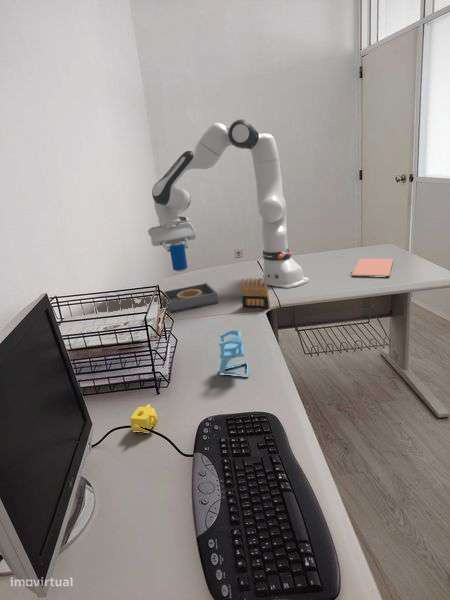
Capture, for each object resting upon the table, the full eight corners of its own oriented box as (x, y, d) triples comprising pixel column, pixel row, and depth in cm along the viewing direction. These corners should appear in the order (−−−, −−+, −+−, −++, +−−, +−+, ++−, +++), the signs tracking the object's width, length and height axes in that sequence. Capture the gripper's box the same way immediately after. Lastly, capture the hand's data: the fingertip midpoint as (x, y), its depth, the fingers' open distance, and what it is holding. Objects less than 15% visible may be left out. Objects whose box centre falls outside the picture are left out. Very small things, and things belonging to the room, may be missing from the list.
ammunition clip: (270, 307, 158) (267, 277, 154) (268, 309, 156) (266, 279, 152) (244, 306, 162) (241, 277, 158) (242, 308, 160) (239, 279, 156)
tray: (164, 301, 178) (162, 291, 176) (208, 292, 183) (206, 283, 181) (171, 313, 163) (169, 302, 162) (218, 303, 169) (217, 292, 167)
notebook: (357, 261, 205) (357, 258, 204) (393, 262, 198) (393, 258, 197) (348, 278, 182) (348, 274, 181) (389, 279, 175) (389, 274, 174)
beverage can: (173, 268, 185) (169, 243, 181) (187, 266, 185) (183, 241, 181) (173, 272, 179) (168, 246, 175) (187, 270, 179) (183, 244, 175)
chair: (220, 366, 118) (215, 328, 114) (248, 363, 118) (244, 326, 114) (219, 380, 111) (213, 340, 107) (249, 377, 111) (245, 338, 107)
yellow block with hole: (151, 442, 90) (147, 422, 88) (128, 439, 91) (123, 420, 90) (165, 419, 97) (162, 401, 95) (143, 418, 99) (140, 399, 97)
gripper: (146, 224, 178) (154, 249, 173) (191, 216, 184) (200, 241, 178) (147, 232, 184) (154, 257, 178) (190, 225, 189) (198, 249, 184)
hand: (177, 249), depth 178 cm, fingers closed on beverage can, 6 cm apart
